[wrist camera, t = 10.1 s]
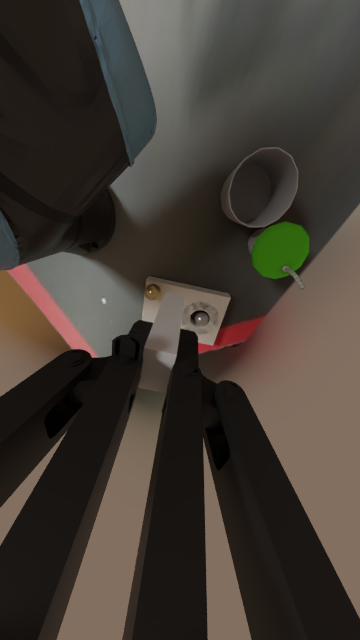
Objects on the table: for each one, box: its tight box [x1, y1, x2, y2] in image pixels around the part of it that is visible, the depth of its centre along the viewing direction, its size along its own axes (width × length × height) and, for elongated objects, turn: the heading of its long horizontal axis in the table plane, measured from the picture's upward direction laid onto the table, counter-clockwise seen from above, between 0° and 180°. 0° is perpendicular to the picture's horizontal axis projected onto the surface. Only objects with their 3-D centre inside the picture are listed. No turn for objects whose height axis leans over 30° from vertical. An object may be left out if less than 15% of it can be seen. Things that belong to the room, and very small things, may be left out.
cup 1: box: [220, 147, 298, 227], centre depth 28 cm, size 8×8×10 cm
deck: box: [142, 276, 231, 345], centre depth 43 cm, size 18×13×2 cm
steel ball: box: [195, 312, 209, 326], centre depth 43 cm, size 3×3×3 cm
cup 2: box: [247, 222, 310, 289], centre depth 29 cm, size 8×8×15 cm
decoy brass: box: [145, 284, 161, 301], centre depth 38 cm, size 3×3×3 cm
